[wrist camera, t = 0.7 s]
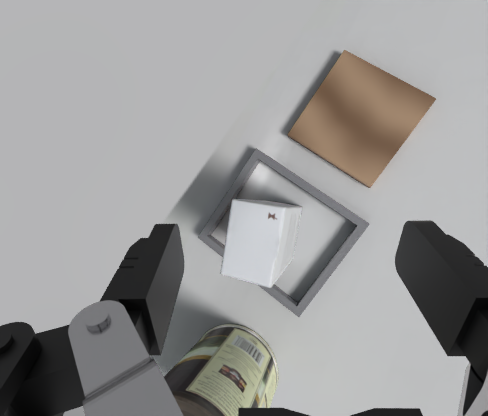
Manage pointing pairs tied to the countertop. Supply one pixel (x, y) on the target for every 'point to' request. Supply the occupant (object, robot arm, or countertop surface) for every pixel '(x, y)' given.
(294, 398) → the countertop surface
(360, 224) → the grey flat rectangular frame
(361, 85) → the walnut board
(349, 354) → the countertop surface
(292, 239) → the skincare box
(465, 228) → the countertop surface
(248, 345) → the coffee can
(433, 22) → the countertop surface
